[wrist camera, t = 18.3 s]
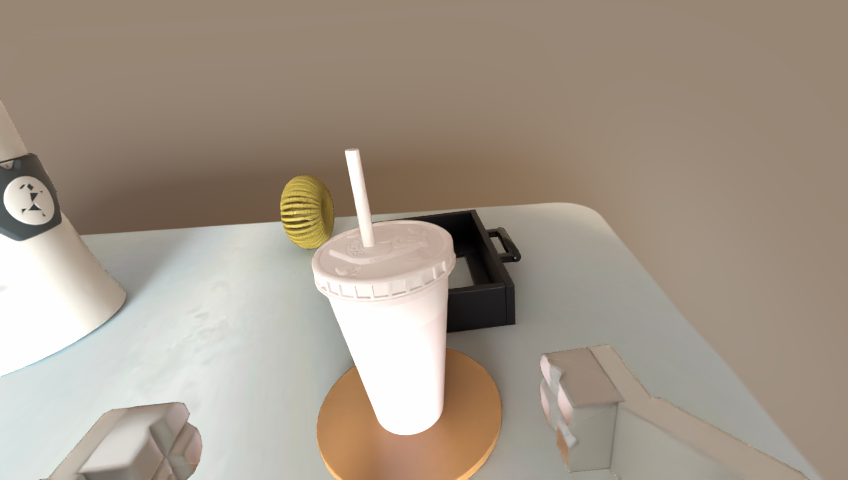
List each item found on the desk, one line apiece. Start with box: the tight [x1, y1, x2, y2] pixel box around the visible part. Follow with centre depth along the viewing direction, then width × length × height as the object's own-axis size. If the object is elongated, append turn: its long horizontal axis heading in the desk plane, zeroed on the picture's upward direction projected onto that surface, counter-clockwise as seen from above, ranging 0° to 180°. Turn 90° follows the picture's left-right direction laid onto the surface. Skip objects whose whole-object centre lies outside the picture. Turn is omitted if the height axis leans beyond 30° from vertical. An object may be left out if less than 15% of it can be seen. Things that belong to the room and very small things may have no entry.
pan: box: [372, 210, 521, 333], centre depth 34 cm, size 15×15×3 cm
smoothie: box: [311, 148, 456, 435], centre depth 19 cm, size 6×6×14 cm
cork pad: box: [317, 348, 502, 480], centre depth 22 cm, size 10×10×1 cm
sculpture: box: [280, 175, 334, 249], centre depth 43 cm, size 8×4×8 cm, turn 176°
